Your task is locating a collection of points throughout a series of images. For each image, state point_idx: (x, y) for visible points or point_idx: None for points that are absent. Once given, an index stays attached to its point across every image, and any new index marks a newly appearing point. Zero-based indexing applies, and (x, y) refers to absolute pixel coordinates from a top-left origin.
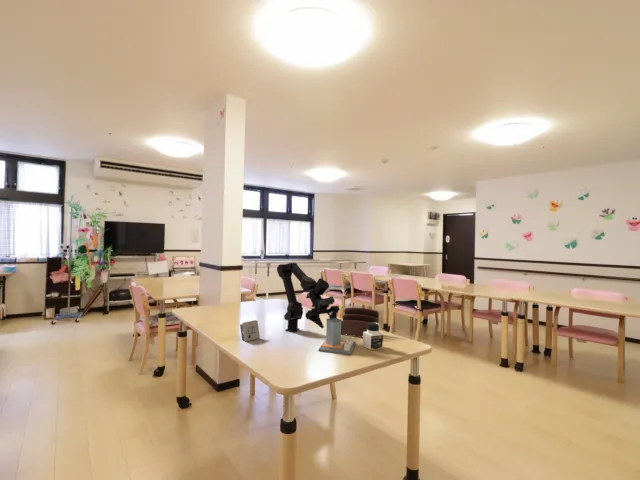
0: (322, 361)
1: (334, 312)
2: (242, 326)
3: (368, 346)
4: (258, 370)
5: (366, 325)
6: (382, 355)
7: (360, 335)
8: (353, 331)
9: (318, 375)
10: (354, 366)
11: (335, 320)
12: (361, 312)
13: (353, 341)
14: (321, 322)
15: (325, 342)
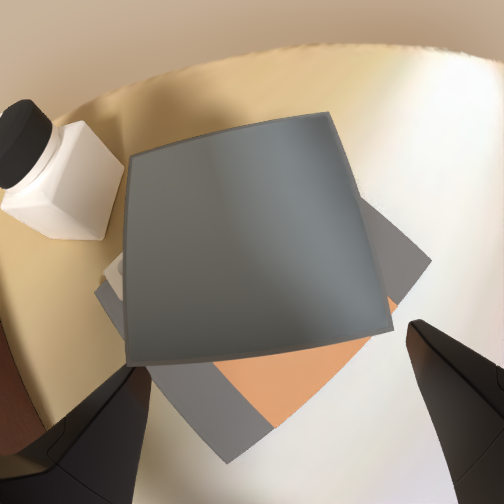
0: (447, 132)
1: (14, 479)
2: None
3: (113, 177)
4: None
5: None
6: (141, 108)
7: (16, 378)
8: (19, 417)
9: (473, 69)
10: (334, 57)
11: (275, 130)
12: None
13: (103, 302)
14: (456, 360)
15: (317, 368)
